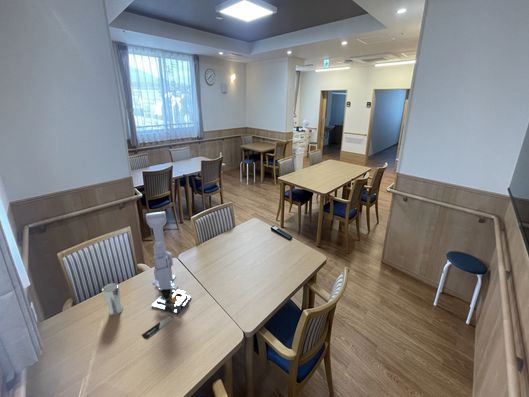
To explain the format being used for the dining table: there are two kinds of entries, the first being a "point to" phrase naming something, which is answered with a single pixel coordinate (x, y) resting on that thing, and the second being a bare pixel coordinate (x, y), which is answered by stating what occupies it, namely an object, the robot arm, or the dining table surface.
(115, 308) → the beer glass
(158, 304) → the heatsink plate
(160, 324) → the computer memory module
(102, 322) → the dining table surface
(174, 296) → the grey orange block
